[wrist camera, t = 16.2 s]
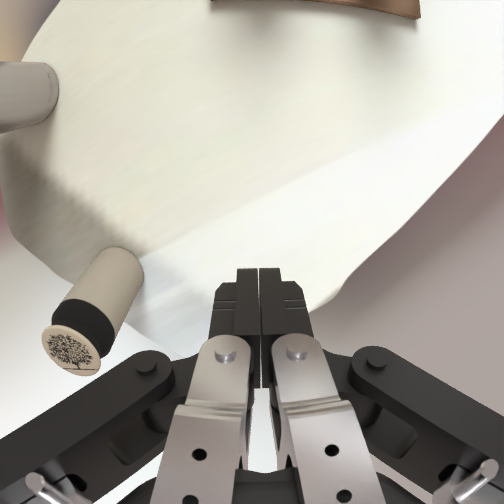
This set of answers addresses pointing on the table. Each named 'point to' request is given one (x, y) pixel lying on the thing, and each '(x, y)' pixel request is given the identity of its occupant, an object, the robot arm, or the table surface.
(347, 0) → the key base
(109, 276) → the travel mug
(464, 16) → the table surface
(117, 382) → the robot arm
